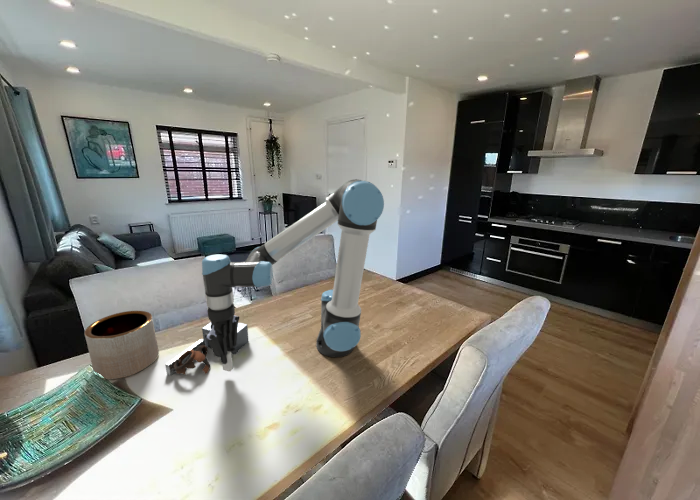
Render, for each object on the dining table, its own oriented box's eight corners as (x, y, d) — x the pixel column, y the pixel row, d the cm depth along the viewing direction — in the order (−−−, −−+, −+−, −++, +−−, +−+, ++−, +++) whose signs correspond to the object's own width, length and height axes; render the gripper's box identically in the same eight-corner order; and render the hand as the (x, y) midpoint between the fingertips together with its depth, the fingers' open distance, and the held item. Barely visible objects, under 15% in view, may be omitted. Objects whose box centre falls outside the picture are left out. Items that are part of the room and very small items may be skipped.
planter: (106, 353, 101) (96, 314, 97) (163, 343, 108) (157, 306, 104) (84, 387, 86) (72, 343, 81) (153, 373, 92) (145, 332, 88)
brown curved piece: (205, 381, 91) (187, 366, 87) (182, 388, 93) (164, 374, 89) (220, 351, 101) (205, 336, 97) (200, 357, 103) (184, 343, 99)
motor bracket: (248, 342, 111) (247, 319, 108) (201, 384, 88) (197, 358, 86) (219, 335, 114) (216, 313, 112) (166, 374, 92) (162, 348, 89)
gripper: (225, 294, 92) (231, 354, 99) (193, 312, 80) (203, 380, 87) (244, 297, 90) (250, 359, 97) (215, 317, 78) (223, 386, 85)
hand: (228, 369), depth 92 cm, fingers closed
